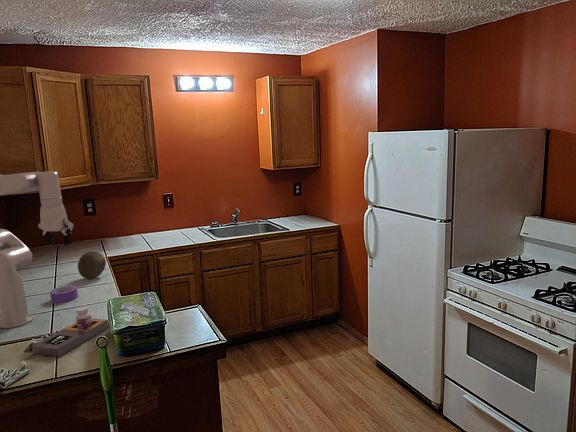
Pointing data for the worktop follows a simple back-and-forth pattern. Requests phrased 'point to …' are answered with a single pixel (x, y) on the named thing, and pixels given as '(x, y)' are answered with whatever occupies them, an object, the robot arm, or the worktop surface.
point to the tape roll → (64, 294)
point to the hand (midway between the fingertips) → (58, 244)
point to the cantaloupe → (91, 265)
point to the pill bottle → (83, 318)
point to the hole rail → (69, 338)
